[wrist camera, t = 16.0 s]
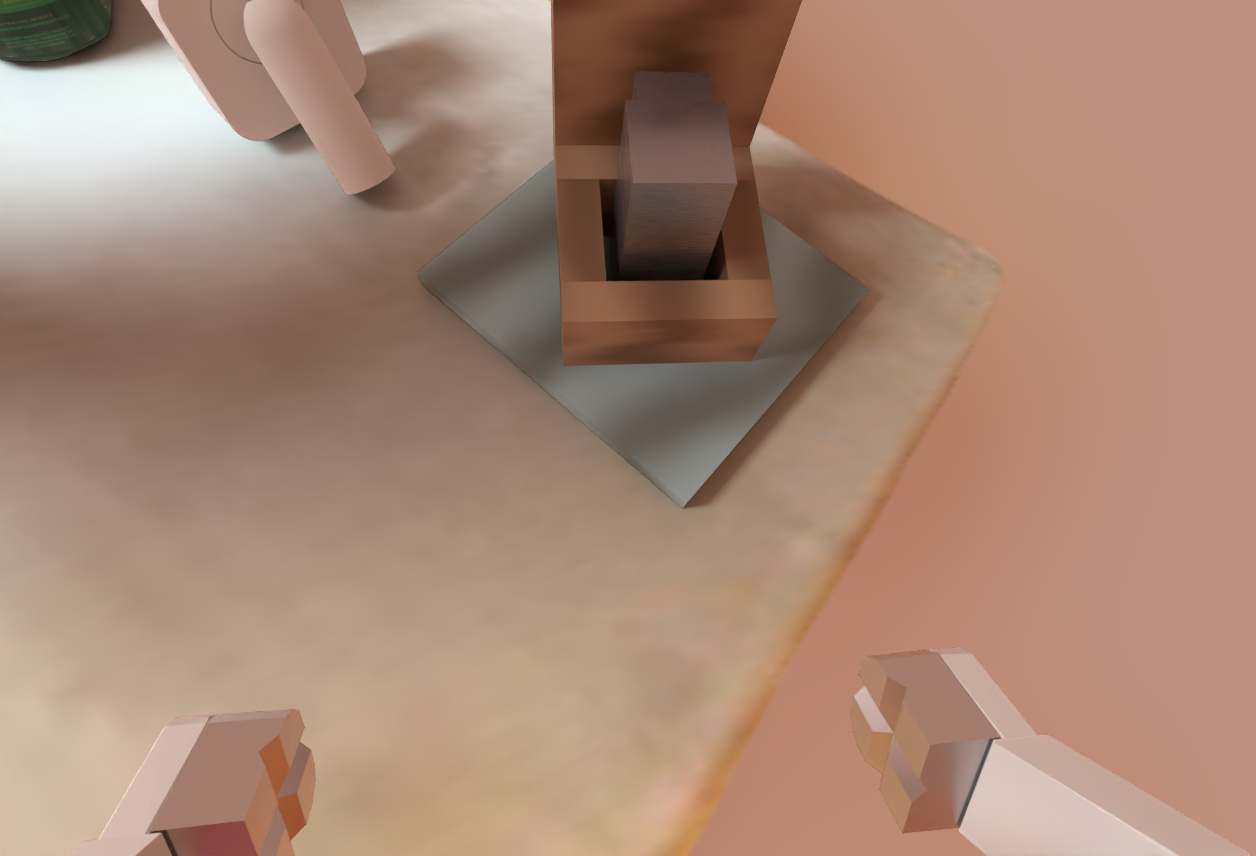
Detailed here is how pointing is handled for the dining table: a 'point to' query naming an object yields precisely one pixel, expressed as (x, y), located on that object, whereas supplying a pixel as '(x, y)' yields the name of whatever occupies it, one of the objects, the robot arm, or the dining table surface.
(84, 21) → the coffee jar
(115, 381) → the dining table surface
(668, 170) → the pin
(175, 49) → the wall hook
